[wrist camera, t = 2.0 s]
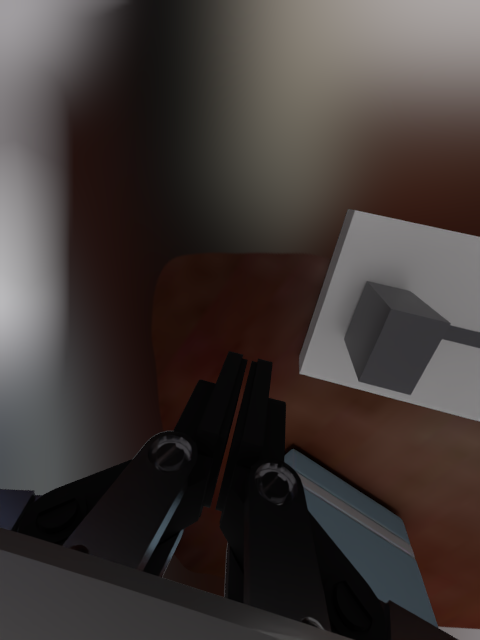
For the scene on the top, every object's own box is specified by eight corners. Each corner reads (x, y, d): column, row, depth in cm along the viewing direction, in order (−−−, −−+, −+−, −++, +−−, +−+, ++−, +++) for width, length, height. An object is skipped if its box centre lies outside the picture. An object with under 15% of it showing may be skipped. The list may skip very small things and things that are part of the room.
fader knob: (410, 291, 21) (450, 323, 16) (383, 349, 23) (410, 395, 18) (366, 280, 21) (391, 308, 16) (343, 339, 23) (358, 381, 18)
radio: (249, 480, 37) (204, 756, 18) (292, 440, 33) (289, 737, 15) (348, 542, 38) (396, 859, 20) (400, 511, 34) (520, 866, 16)
